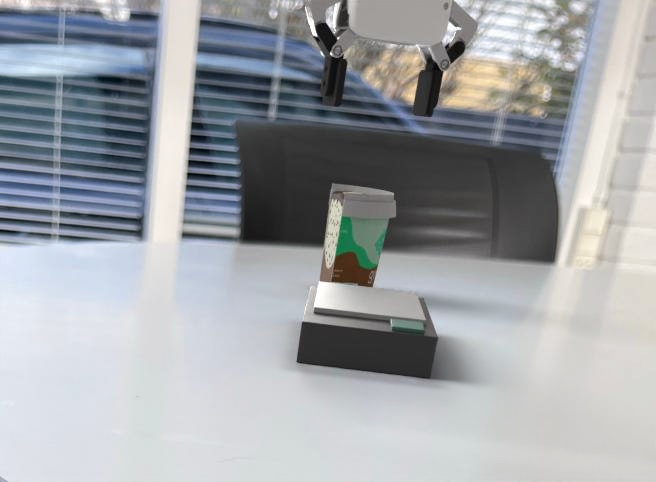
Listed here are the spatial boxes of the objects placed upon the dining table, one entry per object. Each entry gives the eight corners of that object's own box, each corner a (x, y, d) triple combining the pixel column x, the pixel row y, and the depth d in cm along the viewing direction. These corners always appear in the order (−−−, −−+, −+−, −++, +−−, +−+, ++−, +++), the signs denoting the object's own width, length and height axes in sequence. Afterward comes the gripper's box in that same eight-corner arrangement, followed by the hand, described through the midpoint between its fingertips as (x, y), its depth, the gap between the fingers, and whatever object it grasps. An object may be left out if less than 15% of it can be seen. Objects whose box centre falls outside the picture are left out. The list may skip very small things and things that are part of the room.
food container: (390, 307, 105) (409, 199, 101) (329, 301, 105) (345, 193, 101) (372, 286, 116) (389, 188, 112) (317, 281, 116) (331, 183, 112)
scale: (417, 332, 94) (424, 293, 93) (430, 378, 79) (439, 331, 77) (306, 319, 95) (311, 280, 94) (296, 362, 80) (302, 315, 78)
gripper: (477, -83, 100) (438, 118, 108) (307, -112, 95) (280, 100, 103) (519, -92, 94) (475, 122, 102) (340, -123, 89) (308, 103, 97)
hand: (377, 111), depth 103 cm, fingers open, 9 cm apart
